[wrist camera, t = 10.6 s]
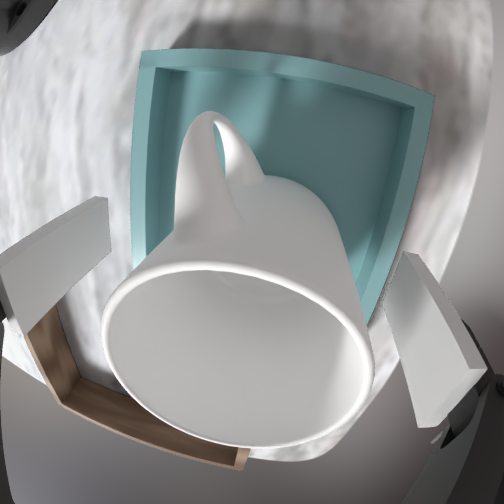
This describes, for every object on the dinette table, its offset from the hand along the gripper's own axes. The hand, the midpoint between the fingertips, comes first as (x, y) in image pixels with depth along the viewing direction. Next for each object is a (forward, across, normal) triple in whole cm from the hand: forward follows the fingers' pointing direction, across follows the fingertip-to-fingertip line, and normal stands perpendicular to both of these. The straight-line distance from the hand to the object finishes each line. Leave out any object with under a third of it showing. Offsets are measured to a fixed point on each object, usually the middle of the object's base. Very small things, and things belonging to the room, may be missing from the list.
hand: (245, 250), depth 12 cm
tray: (+6, 0, 0) cm, 6 cm away
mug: (+6, 0, 0) cm, 6 cm away
